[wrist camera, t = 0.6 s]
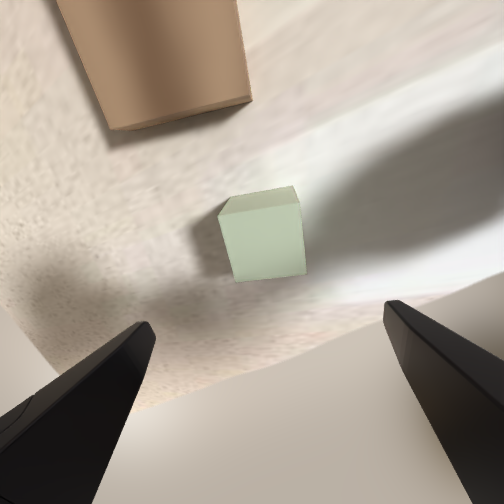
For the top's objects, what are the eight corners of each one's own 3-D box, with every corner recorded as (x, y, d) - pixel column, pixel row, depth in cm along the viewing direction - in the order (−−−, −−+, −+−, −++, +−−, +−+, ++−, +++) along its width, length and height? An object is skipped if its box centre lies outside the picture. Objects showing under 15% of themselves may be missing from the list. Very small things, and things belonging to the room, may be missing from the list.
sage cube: (292, 185, 17) (299, 202, 13) (299, 242, 20) (307, 274, 15) (230, 196, 18) (217, 216, 14) (243, 250, 20) (235, 282, 16)
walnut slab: (219, -105, 11) (203, -179, 9) (253, 101, 15) (249, 94, 13) (70, -44, 13) (17, -91, 10) (135, 130, 17) (110, 129, 14)
